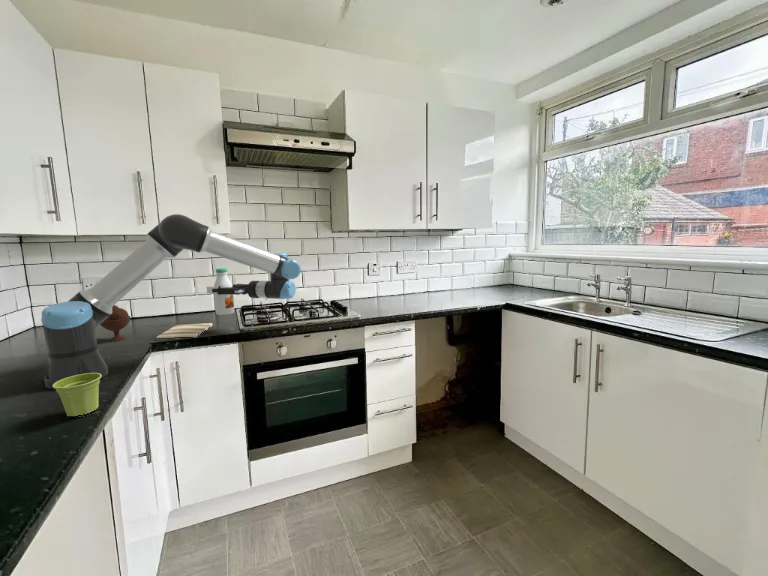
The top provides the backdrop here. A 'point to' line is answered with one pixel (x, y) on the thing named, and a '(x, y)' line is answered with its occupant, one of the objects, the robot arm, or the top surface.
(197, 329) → the birch board
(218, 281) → the milk bottle
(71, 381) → the plant pot
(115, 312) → the ice cream bowl
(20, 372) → the top surface
